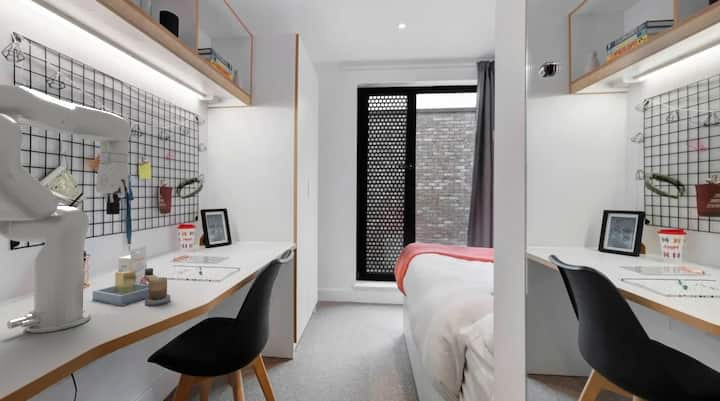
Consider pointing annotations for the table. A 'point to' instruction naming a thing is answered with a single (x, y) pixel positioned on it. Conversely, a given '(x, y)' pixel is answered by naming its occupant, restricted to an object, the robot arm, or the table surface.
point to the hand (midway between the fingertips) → (113, 214)
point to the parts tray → (110, 297)
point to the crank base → (157, 301)
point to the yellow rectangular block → (125, 282)
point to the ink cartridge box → (135, 263)
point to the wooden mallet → (155, 285)
